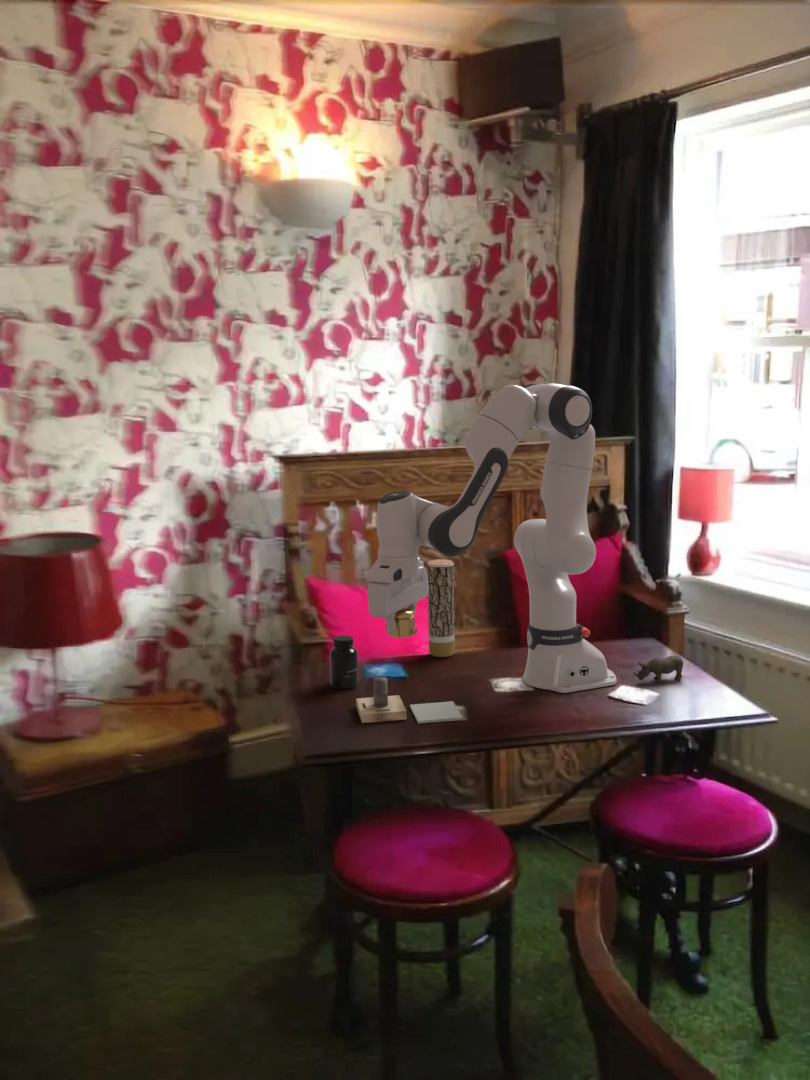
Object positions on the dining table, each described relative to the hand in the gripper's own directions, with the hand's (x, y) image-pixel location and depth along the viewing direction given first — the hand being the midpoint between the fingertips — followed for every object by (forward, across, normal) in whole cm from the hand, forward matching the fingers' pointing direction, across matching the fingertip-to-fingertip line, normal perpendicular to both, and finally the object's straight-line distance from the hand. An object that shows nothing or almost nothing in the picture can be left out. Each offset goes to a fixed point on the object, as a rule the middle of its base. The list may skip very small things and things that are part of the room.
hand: (401, 626), depth 225 cm
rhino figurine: (+22, -46, +44) cm, 68 cm away
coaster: (+20, -2, +6) cm, 21 cm away
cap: (+2, 0, 0) cm, 2 cm away
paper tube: (+21, -40, -12) cm, 47 cm away
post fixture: (+20, +3, -4) cm, 21 cm away
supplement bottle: (+20, -8, -22) cm, 31 cm away
